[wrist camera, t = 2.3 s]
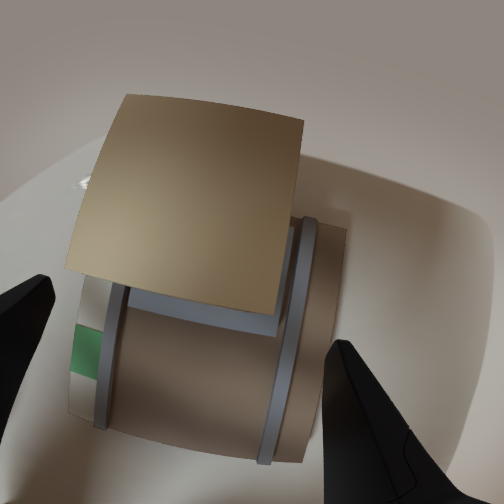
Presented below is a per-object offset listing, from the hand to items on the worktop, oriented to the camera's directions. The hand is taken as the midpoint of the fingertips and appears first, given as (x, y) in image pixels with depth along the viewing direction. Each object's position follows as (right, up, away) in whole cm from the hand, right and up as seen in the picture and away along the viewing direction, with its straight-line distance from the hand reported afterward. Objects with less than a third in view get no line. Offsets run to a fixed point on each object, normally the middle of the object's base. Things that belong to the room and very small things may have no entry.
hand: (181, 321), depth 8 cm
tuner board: (-1, -2, +10) cm, 10 cm away
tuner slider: (-2, +1, +8) cm, 9 cm away
